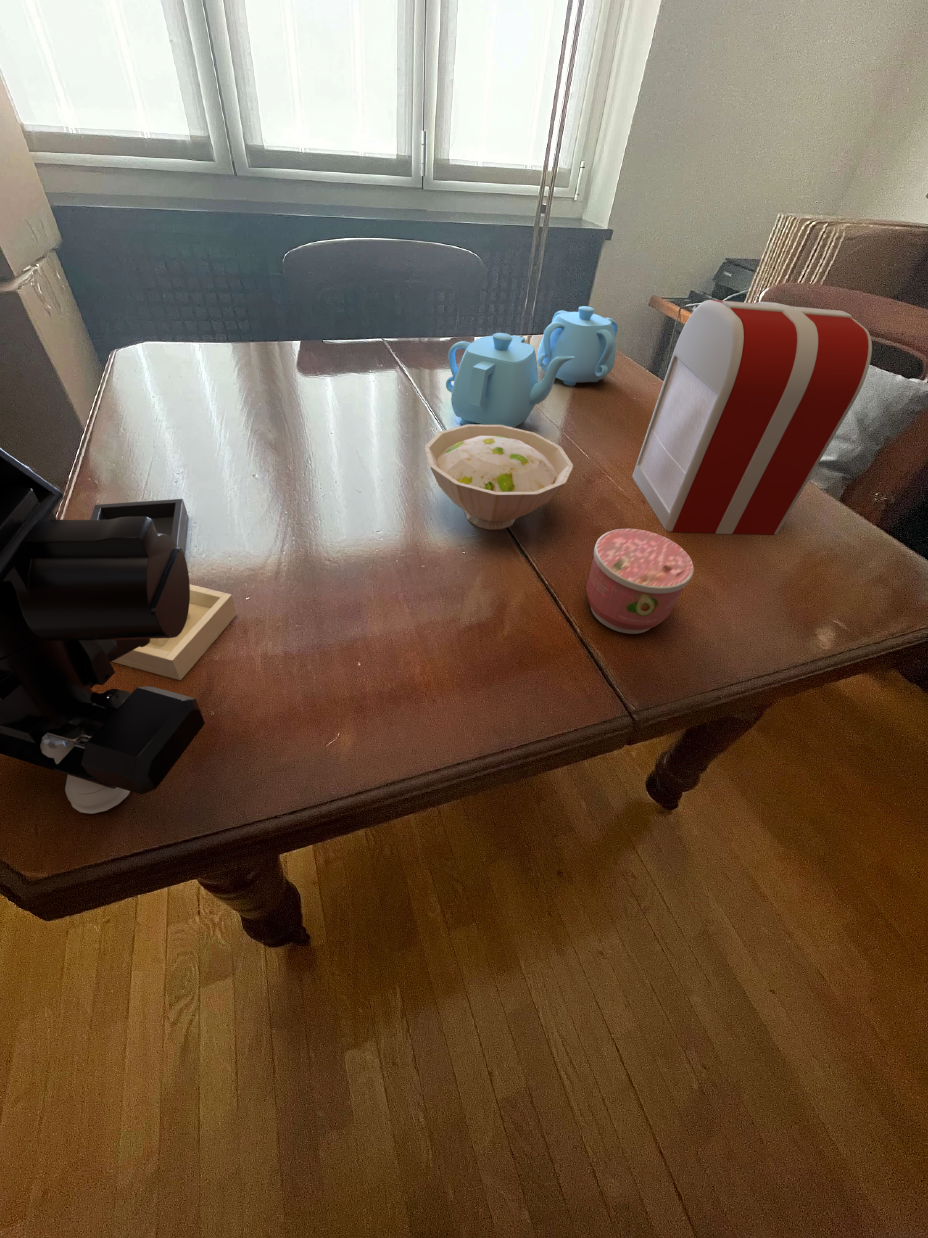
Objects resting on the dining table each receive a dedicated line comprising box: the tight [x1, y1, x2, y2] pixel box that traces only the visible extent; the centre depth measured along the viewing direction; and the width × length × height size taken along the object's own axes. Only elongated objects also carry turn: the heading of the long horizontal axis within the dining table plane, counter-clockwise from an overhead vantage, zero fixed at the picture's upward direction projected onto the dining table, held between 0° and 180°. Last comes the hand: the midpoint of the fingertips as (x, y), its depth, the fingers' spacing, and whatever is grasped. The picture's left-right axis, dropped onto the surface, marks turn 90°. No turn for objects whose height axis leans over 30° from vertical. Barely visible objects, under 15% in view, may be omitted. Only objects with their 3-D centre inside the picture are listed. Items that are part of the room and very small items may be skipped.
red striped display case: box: [631, 299, 873, 536], centre depth 75 cm, size 16×18×27 cm
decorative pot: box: [536, 305, 619, 386], centre depth 115 cm, size 16×16×14 cm
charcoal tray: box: [89, 498, 190, 556], centre depth 63 cm, size 11×10×3 cm
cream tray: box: [110, 584, 238, 681], centre depth 54 cm, size 12×10×3 cm
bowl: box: [424, 424, 574, 531], centre depth 73 cm, size 19×19×10 cm
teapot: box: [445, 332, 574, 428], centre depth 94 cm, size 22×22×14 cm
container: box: [585, 528, 695, 635], centre depth 61 cm, size 10×10×8 cm
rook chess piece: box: [40, 735, 131, 815], centre depth 40 cm, size 4×4×8 cm
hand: (95, 776), depth 41 cm, fingers closed on rook chess piece, 3 cm apart
